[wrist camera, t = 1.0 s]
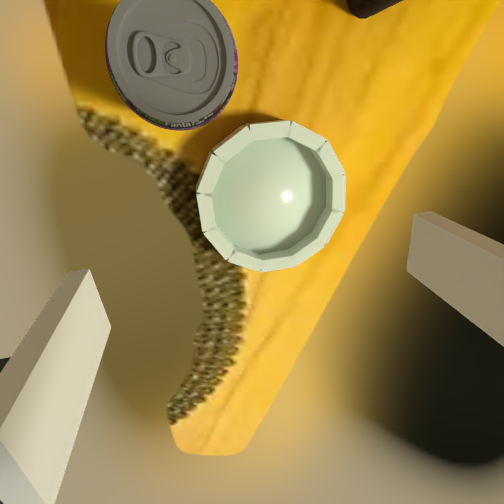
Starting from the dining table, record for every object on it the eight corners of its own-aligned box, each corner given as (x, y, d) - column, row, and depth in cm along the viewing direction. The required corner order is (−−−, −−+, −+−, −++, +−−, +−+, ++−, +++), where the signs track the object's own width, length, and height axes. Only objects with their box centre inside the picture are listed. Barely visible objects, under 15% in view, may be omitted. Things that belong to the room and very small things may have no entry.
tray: (186, 129, 28) (186, 131, 26) (336, 114, 30) (348, 114, 28) (208, 269, 34) (210, 281, 32) (333, 249, 36) (343, 258, 34)
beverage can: (136, 121, 28) (104, 129, 17) (129, 21, 25) (86, -47, 14) (219, 126, 29) (240, 136, 18) (221, 32, 26) (247, -22, 15)
